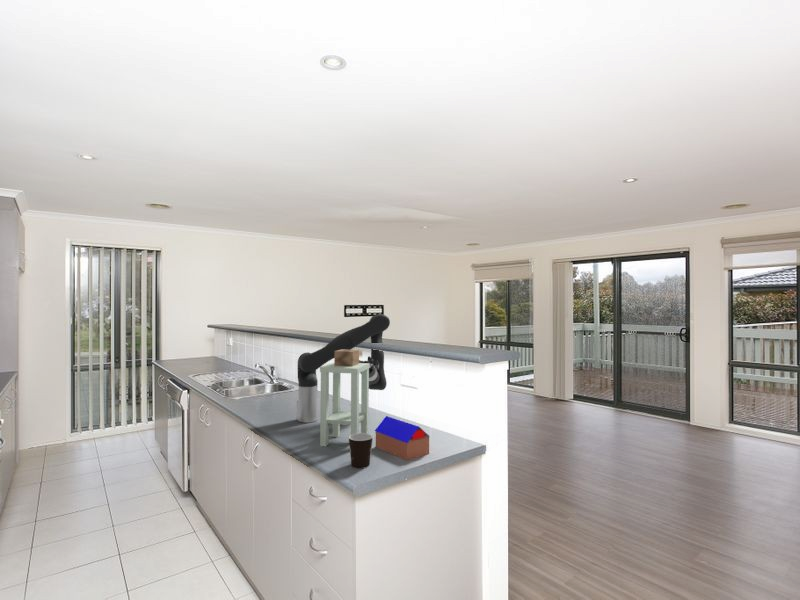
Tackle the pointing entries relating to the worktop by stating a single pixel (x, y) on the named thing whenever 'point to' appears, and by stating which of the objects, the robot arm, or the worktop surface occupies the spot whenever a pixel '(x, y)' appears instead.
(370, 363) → the robot arm
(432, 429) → the worktop surface
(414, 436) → the house
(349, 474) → the worktop surface
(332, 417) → the tall stand
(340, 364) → the cube on tan board
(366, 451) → the dark brown cup
